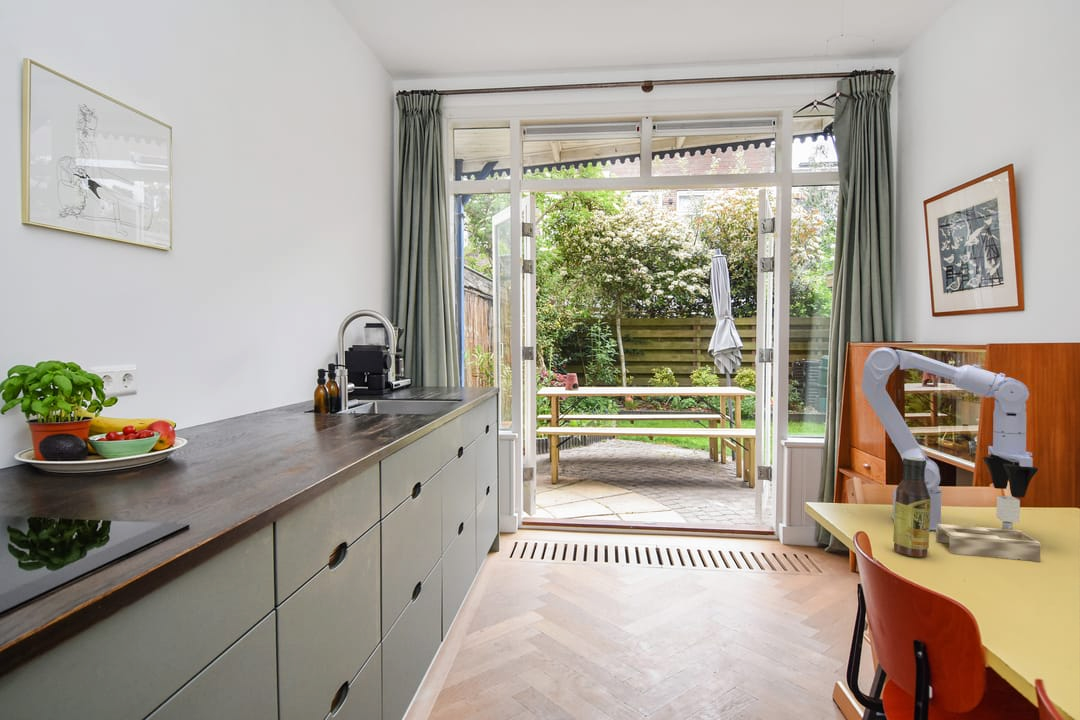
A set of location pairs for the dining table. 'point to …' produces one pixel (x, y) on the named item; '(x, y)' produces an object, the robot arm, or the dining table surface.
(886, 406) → the robot arm
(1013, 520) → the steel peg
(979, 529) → the beige wooden frame
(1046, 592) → the dining table surface
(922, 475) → the sauce bottle
